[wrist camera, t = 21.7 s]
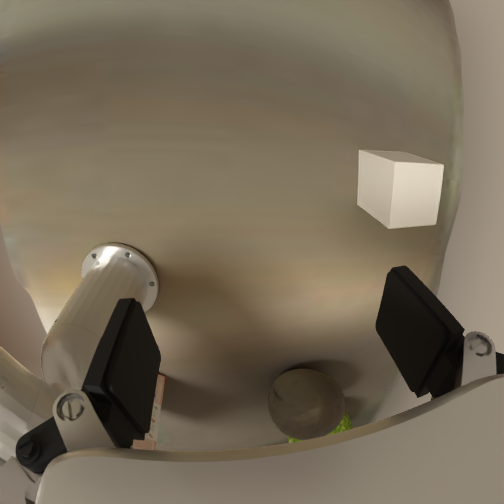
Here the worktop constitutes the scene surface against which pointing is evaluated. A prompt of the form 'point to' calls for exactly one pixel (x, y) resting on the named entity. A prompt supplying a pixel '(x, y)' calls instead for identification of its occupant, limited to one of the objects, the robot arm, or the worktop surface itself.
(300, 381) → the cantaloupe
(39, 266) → the worktop surface
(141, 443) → the cracker box
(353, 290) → the worktop surface
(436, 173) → the white sugar cube
